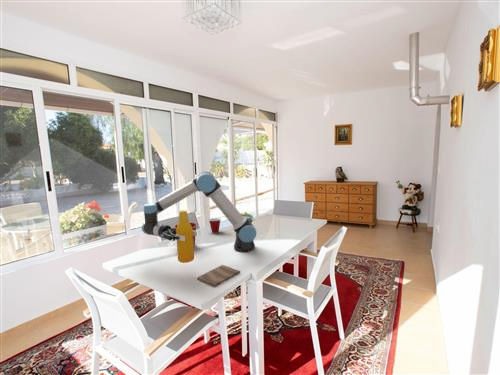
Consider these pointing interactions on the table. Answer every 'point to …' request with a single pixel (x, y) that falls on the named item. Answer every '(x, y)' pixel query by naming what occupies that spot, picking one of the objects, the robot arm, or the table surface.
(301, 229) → the table surface
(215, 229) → the plastic cup
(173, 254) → the table surface
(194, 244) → the flower pot
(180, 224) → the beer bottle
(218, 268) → the walnut board
